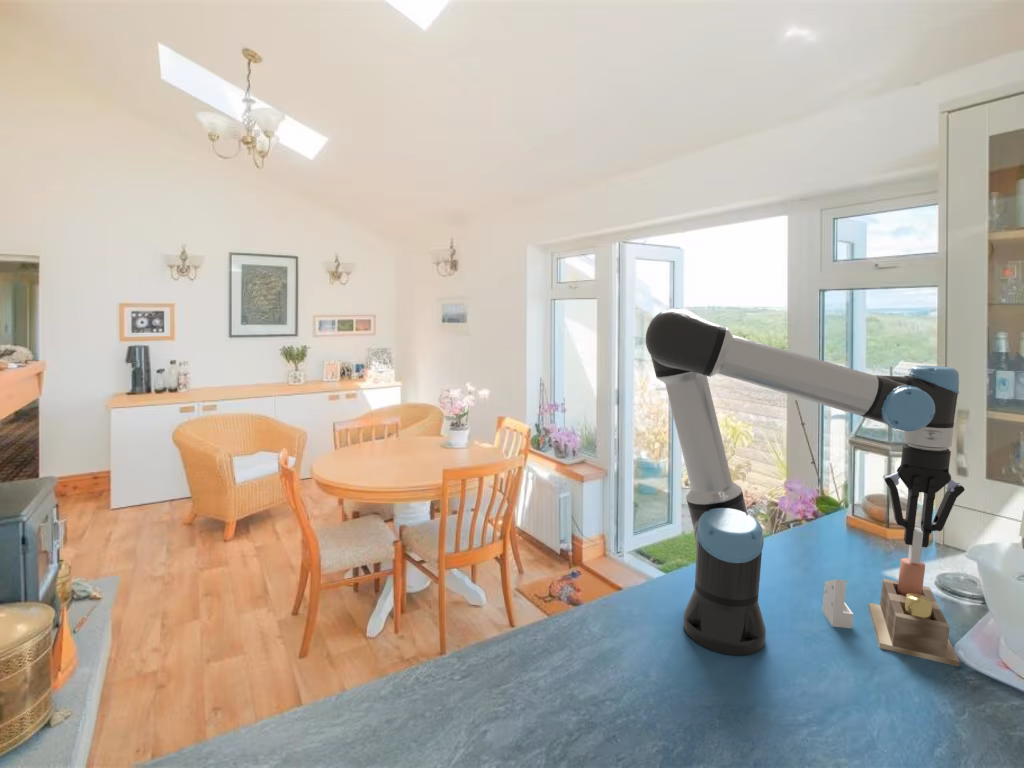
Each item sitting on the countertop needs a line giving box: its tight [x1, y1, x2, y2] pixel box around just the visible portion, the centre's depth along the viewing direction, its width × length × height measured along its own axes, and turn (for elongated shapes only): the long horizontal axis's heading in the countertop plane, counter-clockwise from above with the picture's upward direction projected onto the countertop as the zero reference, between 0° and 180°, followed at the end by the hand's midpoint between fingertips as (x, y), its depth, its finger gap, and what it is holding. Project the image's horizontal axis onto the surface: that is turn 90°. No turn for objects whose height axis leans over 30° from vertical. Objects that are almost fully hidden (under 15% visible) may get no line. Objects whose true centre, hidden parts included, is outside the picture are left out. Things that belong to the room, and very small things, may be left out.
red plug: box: [897, 557, 926, 596], centre depth 111 cm, size 4×4×8 cm
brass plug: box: [904, 593, 933, 619], centre depth 105 cm, size 4×4×8 cm
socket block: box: [868, 578, 960, 667], centre depth 108 cm, size 12×16×7 cm
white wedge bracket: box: [821, 579, 854, 629], centre depth 113 cm, size 4×10×9 cm, turn 169°
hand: (913, 560), depth 111 cm, fingers closed
